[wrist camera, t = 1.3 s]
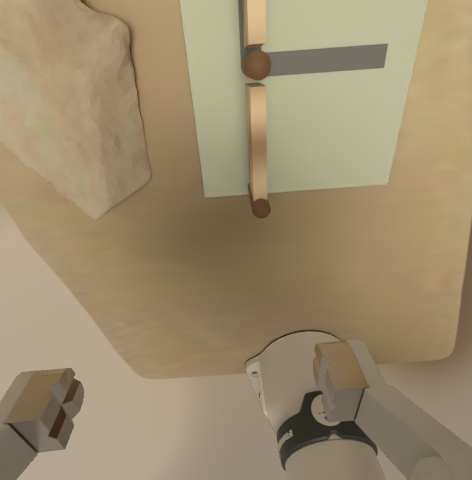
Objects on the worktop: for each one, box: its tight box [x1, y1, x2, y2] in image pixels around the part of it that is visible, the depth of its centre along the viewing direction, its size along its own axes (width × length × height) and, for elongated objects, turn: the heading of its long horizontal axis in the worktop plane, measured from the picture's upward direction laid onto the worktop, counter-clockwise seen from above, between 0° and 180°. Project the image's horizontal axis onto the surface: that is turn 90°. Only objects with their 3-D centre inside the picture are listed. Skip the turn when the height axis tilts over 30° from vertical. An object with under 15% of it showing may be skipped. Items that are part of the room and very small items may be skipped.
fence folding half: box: [245, 83, 271, 218], centre depth 26 cm, size 10×2×6 cm, turn 4°
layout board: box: [180, 0, 428, 198], centre depth 25 cm, size 26×20×1 cm
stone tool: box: [0, 0, 151, 220], centre depth 24 cm, size 14×6×25 cm
